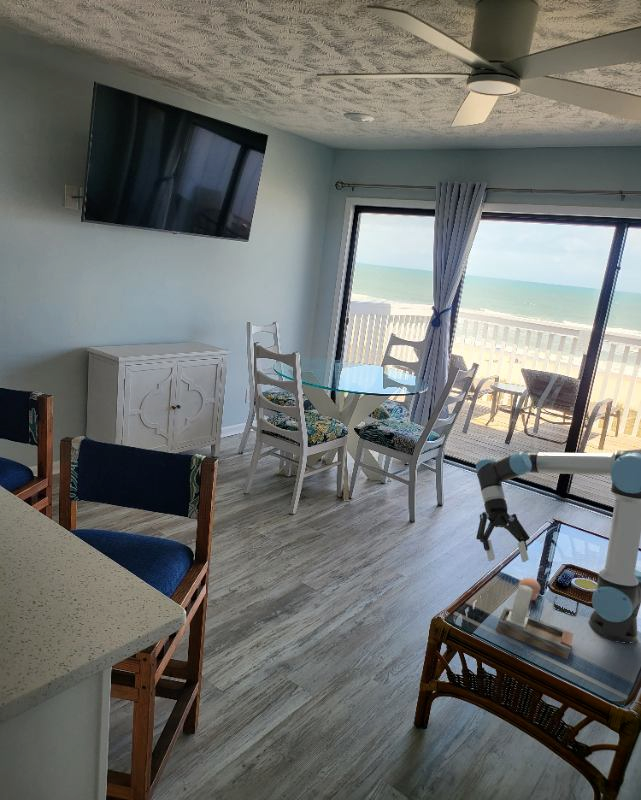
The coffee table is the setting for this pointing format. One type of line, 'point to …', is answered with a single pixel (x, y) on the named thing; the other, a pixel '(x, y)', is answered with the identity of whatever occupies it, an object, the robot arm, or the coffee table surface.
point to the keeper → (520, 607)
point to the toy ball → (531, 586)
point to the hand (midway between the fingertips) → (508, 560)
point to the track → (538, 634)
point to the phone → (563, 609)
